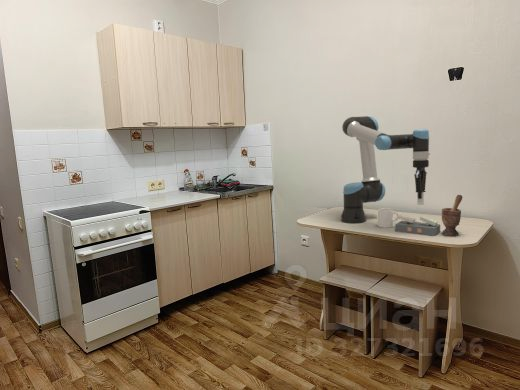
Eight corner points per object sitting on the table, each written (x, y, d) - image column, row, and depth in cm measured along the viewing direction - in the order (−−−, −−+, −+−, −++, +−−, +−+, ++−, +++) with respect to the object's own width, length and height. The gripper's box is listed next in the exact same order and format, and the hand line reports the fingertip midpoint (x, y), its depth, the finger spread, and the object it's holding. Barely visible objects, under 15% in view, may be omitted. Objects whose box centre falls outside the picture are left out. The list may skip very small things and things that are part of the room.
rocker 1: (398, 218, 199) (398, 215, 199) (400, 217, 202) (401, 214, 201) (413, 223, 194) (413, 220, 194) (415, 221, 197) (415, 218, 197)
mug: (396, 229, 202) (396, 211, 201) (375, 226, 210) (375, 210, 209) (401, 226, 208) (401, 209, 207) (381, 224, 216) (381, 207, 215)
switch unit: (395, 231, 198) (395, 221, 197) (401, 227, 205) (401, 218, 205) (434, 236, 185) (435, 226, 184) (440, 231, 193) (440, 221, 192)
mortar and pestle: (445, 230, 195) (446, 193, 192) (463, 232, 189) (464, 194, 186) (439, 235, 186) (440, 196, 183) (457, 237, 181) (458, 197, 178)
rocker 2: (419, 219, 192) (420, 216, 191) (421, 218, 195) (422, 215, 194) (434, 226, 188) (436, 222, 187) (436, 224, 190) (437, 221, 190)
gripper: (424, 160, 182) (424, 207, 185) (432, 158, 191) (431, 203, 194) (409, 160, 186) (409, 206, 190) (417, 159, 196) (417, 202, 199)
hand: (420, 204), depth 192 cm, fingers closed
